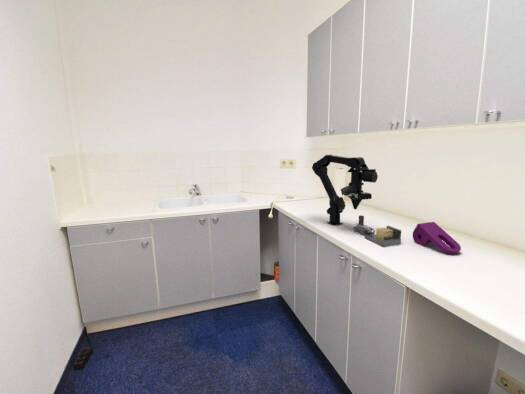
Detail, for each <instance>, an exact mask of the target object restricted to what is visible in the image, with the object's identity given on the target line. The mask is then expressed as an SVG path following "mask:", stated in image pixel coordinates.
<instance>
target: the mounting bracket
mask: <svg viewBox="0 0 525 394" xmlns="http://www.w3.org/2000/svg"><path fill="white" fill-rule="evenodd" d="M412 239H413V241H414V243H415V244H417V245H419V246H425V245H429V244H430V243H431V244H433V246H435V247H436V248H437V249H438V250H439V251H441V252H442V253H444V254H446V255H451V256H453V255H454V256H455V255H457V254H459V253H460V251H461V250H462V247H461V245H460V243H458V242H457V241H456V239H454V238H453V237H452V236H451V235H450V234H448V233H447V232H446V231H445V230H444V229H443V228H442V227H440V226H439V225H438V224H437V223H436V222H435V221H430V222H423V223H422V222H421V223H417V224H416V226H415V228H414V229H413V231H412Z"/></svg>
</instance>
